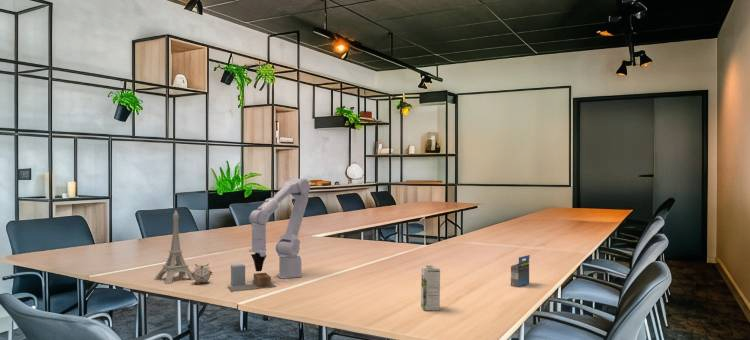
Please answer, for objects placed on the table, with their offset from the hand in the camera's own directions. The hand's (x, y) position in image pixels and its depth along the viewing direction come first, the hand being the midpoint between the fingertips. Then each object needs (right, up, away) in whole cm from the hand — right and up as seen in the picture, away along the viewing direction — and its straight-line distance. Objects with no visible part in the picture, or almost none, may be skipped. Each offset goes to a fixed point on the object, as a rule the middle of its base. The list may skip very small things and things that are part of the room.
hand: (258, 271), depth 213 cm
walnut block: (+1, -3, -1) cm, 3 cm away
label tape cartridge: (+109, -6, -2) cm, 110 cm away
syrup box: (+68, -6, -38) cm, 78 cm away
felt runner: (-1, -5, -8) cm, 9 cm away
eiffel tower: (-37, -5, +6) cm, 38 cm away
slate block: (-8, -5, -3) cm, 10 cm away
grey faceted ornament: (-23, -5, -1) cm, 24 cm away
